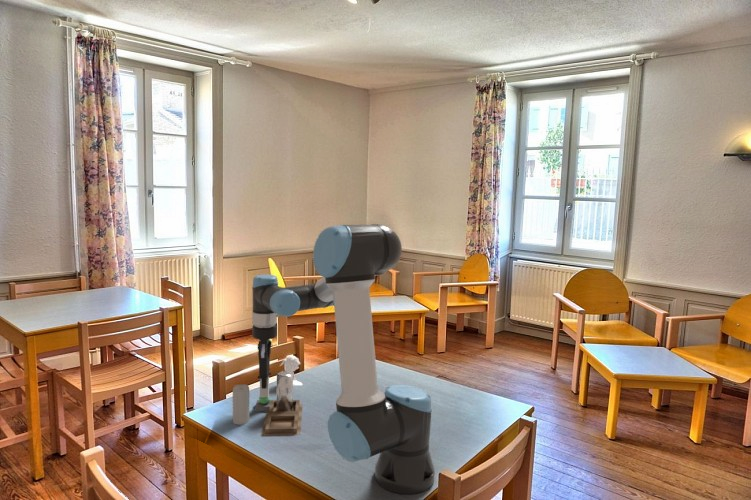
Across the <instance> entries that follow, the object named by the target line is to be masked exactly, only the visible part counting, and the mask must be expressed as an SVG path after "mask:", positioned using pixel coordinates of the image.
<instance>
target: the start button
mask: <svg viewBox="0 0 751 500" xmlns="http://www.w3.org/2000/svg"><path fill="white" fill-rule="evenodd" d="M258 400H259V403H261V404H267V403H269V401H270V400H271V399H270V396H269V397H263V398H260V396H259V397H258Z"/></svg>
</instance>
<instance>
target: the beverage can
mask: <svg viewBox="0 0 751 500" xmlns="http://www.w3.org/2000/svg"><path fill="white" fill-rule="evenodd" d="M249 422H250V386H249V385H248V384H242V383H241V384H236V385H234V386H233V388H232V423H233V424H235V425H245V424H247V423H249Z"/></svg>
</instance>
